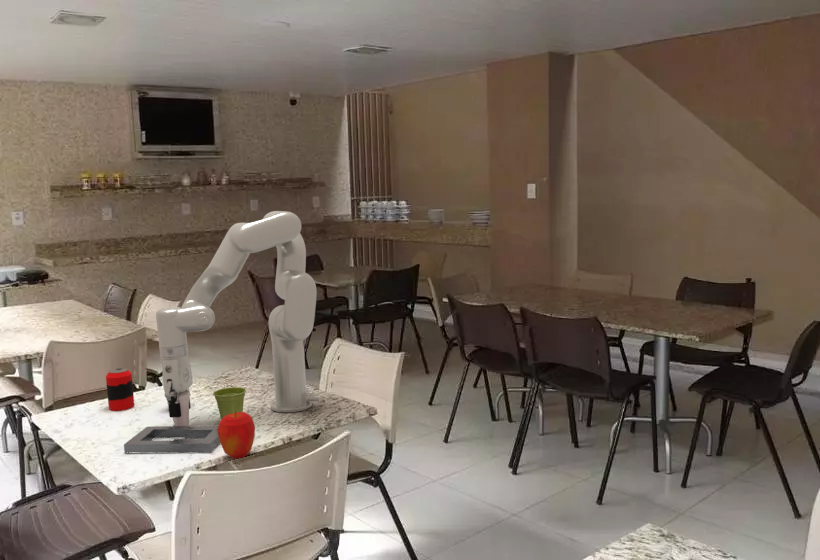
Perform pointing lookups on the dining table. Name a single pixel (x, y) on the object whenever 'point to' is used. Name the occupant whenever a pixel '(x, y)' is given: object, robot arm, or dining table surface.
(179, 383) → the robot arm
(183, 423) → the smoothie
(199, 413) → the dining table surface
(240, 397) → the plant pot
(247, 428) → the apple
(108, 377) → the soda can
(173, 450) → the keyhole plate
